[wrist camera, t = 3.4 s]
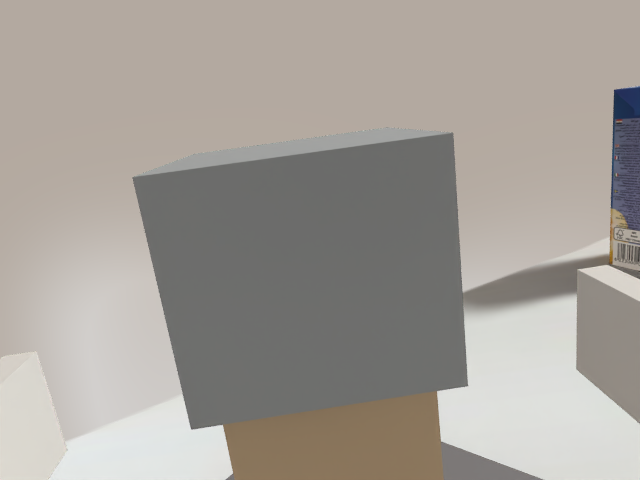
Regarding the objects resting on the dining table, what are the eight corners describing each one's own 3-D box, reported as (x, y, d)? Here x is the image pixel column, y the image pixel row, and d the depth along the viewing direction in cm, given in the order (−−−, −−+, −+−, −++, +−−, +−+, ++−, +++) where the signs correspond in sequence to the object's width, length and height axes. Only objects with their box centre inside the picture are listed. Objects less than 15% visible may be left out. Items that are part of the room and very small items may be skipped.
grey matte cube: (402, 289, 27) (387, 127, 24) (467, 386, 17) (453, 132, 15) (226, 316, 26) (194, 153, 24) (191, 429, 17) (132, 177, 14)
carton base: (409, 493, 29) (380, 202, 24) (455, 633, 21) (425, 242, 17) (277, 514, 29) (222, 225, 24) (274, 665, 21) (191, 277, 16)
